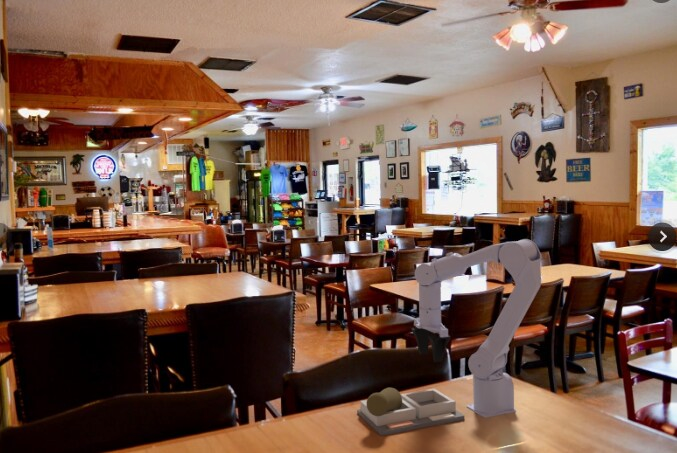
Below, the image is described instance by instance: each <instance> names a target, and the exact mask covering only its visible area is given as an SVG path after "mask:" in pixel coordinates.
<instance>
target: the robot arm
mask: <svg viewBox="0 0 677 453" xmlns="http://www.w3.org/2000/svg"><path fill="white" fill-rule="evenodd" d="M542 258H543V255H542V253H541V252H540V249H539V247H538V246H537V244H536V243H535V242H534V241H533V240H530V239H528V238H523V239H520V240H518V241H517V240H516V241H515V240H514V241H508V242H502V243H496V244H491V245H489V246H488V245H487V246H486V247H483V248H479V249H478V250H476V251H472V252H470V253H467V254H465V255H461V254H460V253H458V252H453V251H452V252H448V253H446V254H445V256H443V257H440V258H432V259H431V261H430V262H422V263H421V264H419V265H418V266H417V267H416V268H415V269H414V277H415V280H416V282H417V283H418V297H419V298H418V305H419V306H418V307H419V308H418V309H419V310H418V311H419V315H418V317H417V318H413V326H414V327H412V328H411V329H410V330H411V332H412V334H413V336H414V339H415V341H416V344H417V348H418V349H417V350H418V352H419V355H427V354H428V352H429V348H430V347H429V344H430V345H431V350H432V351H431V352H432V358H433V359H432V360H433V363H439V362H442V361H443V358H444V356H445V355H444V354H445V352H446V351H445V350H446V348H447V346H448V343H449V342H450V340H451V336H450V334H449V328H447V327H445V326H444V325H443V323H442V297H441V296H442V295H441V294H442V293H441V292H442V290H441V287H442V282H444V281H446V280H449V279H452V278H455V277H459V276H462V275H464V274H465V273H466V271H467V269H468V268H470V267H474V266H476V265H481V264H483V263H486V262H490V261H492V262H494V263H495V264H502V266H503V267H504V268H505V269H506V271H507V272H508V273H509V274H510V275H511V277H512V279H513V281H514V284H515V285H514V287H513V288H512V291H511V292H510V294H509V296H508V299H507V300H506V303H505V304H504V306H503V308H502V309H501V311H500V314H499V316H498V317H497V319H496V321H495V323H494V325H493V327H492V329H491V331H490V333H489V334H488V336H487V338H486V339H485V340H484V341H483V343H482V344H481V345H480V346H479V348H477V351H476V352H474V353H473V354H471V355H470V357H469V359H468V362H467V364H468V368H469V371H470V373H471V374H472V378H473V379H472V381H473V382H472V386H473V387H472V388H473V390H472V391H473V394H472V395H473V403H470V404H467V405H466V408H468V409H469V410H471V411H472V412H474V413H476V414H477V415H478V416H481V417H482V418H485V419H487V418H491V417H496V416H497V417H498V416H501V415H502V416H503V415H507V414H512V413H516V412H517V409H515V387H514V382H513V379H512V377H511V376H510V374H508V373H507V372H503V368H504V367H506V364H507V363H508V353H509V351H510V346H509V345H510V343H511V342H512V339H513V337H514V336H515V334H516V332H517V330H518V329H519V327H520V326H521V325H520V324H521V323H522V321H523V320H524V317H525V316H526V314H527V312H528V310H529V308H530V307H531V304H532V302H533V301H534V299H535V298H536V295H537V293H538V292H539V290H540V288H541V285H542V272H541V269H542V268H541V262H542ZM431 333H433V334H431Z"/></svg>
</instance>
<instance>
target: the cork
mask: <svg viewBox="0 0 677 453" xmlns="http://www.w3.org/2000/svg"><path fill="white" fill-rule="evenodd" d="M401 394H402V393H400V392H399V390H398V389H396V388H394V387H386V388H384V389H382V390H381V391H380V392H373V393H372V394H370V395H369V396H368V398H367V399H366V400H367V409H368V411H369V412H370V413H371V414H372V415H374V416H382V415H384V414H385V413H386V412H390V411H395V410H399V409H400V408H401V406H402V397H401Z"/></svg>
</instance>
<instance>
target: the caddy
mask: <svg viewBox="0 0 677 453" xmlns="http://www.w3.org/2000/svg"><path fill="white" fill-rule="evenodd" d="M400 394H401V397H402V406H401V408H400V409H399V410H395V411H390V412H386V413H385V414H384V415H382V416H374V415H372V414H371V413H370V412H369V411H368V409H367V399H365V400H359V402H360V404H359V406H360V409H357V410H356V414H357V413H358V414H359V415H358V414H357V415H358V416H359V417H360V418H361V419H363V421H365V422H366V423H367V424H368V425H369V426H370V427H371V428H372V429H373V430H374V431H375V432H376V433H377V434H379V435H380V436H381V437H382V436H387V435H393V434H398V433H402V432H403V433H404V432H408V431H414V430H419V429H425V428H429V427H434V426H438V425H444V424H449V423H455V422H460V421H464V420H465V415H464V414H462V412H460V411H458V410H457V409H456V408H457V404H456V400H454V399H452V398H451V397H449V396H447V395H446V394H444V393H442V392H441V391H439V390H438V389H436V388H429V389H424V390H418V391H412V392H406V393H400Z"/></svg>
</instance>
